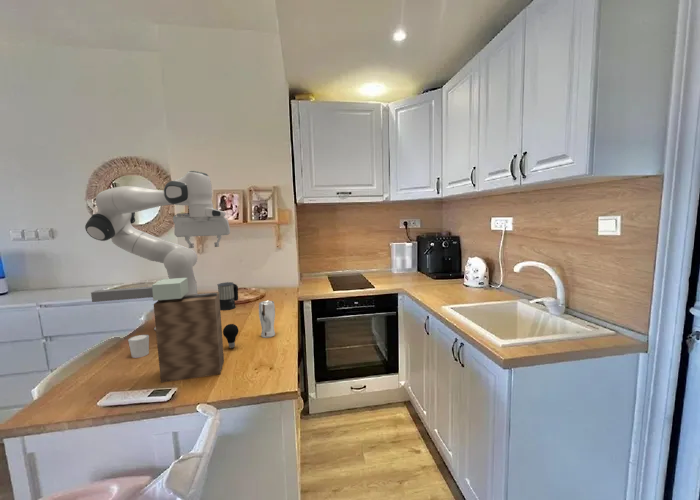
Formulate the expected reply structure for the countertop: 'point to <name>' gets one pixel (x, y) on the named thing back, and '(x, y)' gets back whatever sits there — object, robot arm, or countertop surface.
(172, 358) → the walnut stand
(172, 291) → the grey mallet
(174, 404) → the countertop surface
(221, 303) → the milk frother
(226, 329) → the light bulb
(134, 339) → the white short cylinder
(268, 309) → the beer glass
